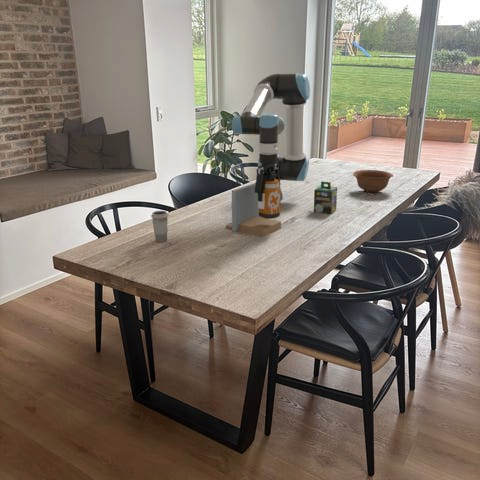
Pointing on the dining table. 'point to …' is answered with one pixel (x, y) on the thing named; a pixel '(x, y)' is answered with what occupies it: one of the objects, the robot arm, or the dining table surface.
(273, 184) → the canister
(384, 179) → the bowl
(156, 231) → the cup
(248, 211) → the wooden stand with panel
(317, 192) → the chalk box
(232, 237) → the dining table surface
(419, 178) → the dining table surface
